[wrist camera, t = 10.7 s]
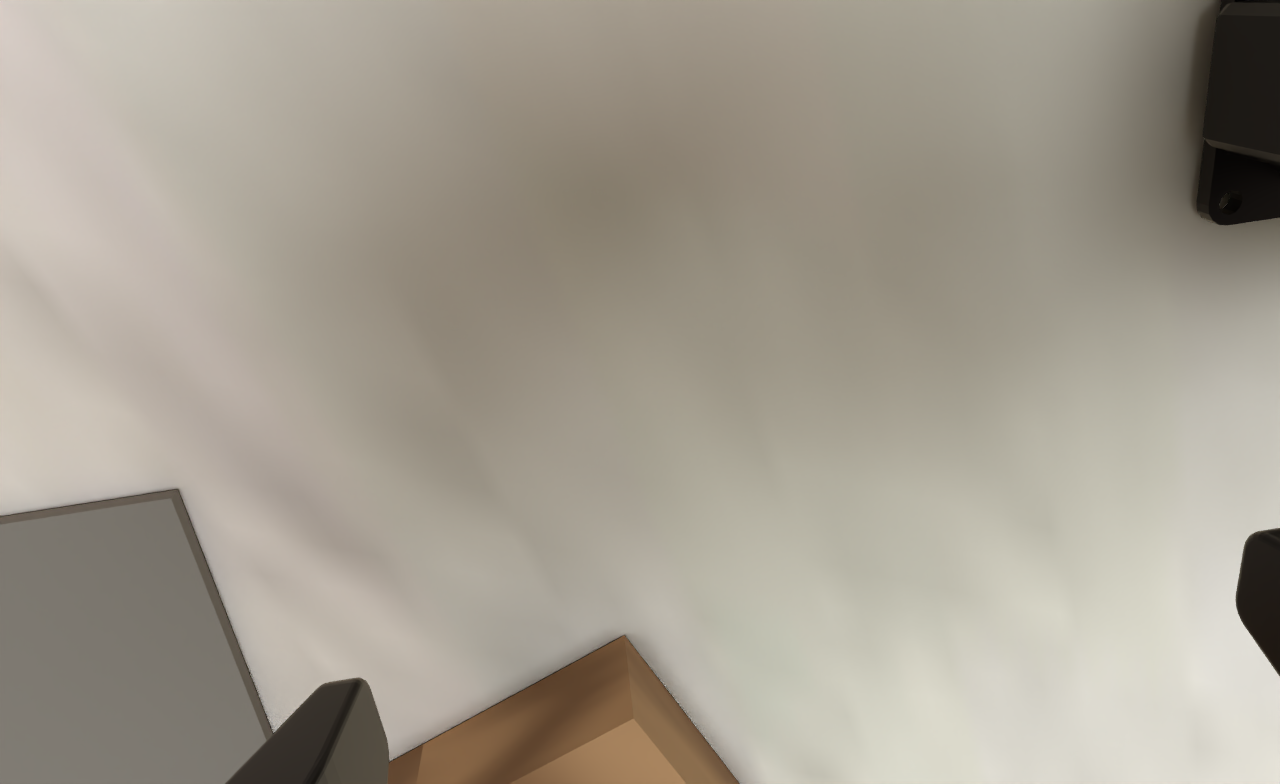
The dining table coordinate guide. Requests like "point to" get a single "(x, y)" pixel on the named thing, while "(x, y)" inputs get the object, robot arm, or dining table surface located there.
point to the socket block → (574, 733)
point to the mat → (118, 651)
